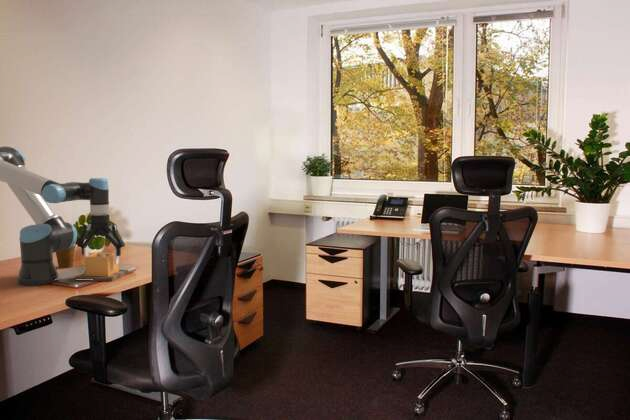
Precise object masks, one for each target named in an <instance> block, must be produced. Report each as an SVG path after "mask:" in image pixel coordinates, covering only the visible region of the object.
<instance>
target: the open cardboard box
mask: <svg viewBox="0 0 630 420" xmlns="http://www.w3.org/2000/svg"><path fill="white" fill-rule="evenodd" d="M101 254H105V255H106V257H98V255H101ZM119 264H120V262H119V263H118V264H115V262H114V252H95V253H93V254H89V256H86V257H85V263H84V269H85V270H84V273H85V274H86V276H109V275H111V274H114V273H116V272H118V271H119V269H120V267H119V266H120V265H119Z"/></svg>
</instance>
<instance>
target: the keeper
mask: <svg viewBox="0 0 630 420" xmlns="http://www.w3.org/2000/svg"><path fill="white" fill-rule="evenodd" d="M98 257H106V255H105V254H101V255H98ZM127 274H129V269H120V268H119V271H118V272H116V273H114V274H111V275H109V276H86V274H85V272H84V273H82V274H78V275H77V276H75V279H93V280H95V281H94V282H113V281H114V282H115V280H117V279H119V278H121V277H124V276H126V275H127ZM75 279H74V280H75Z"/></svg>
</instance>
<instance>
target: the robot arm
mask: <svg viewBox="0 0 630 420" xmlns="http://www.w3.org/2000/svg"><path fill="white" fill-rule="evenodd" d="M25 161H26V158H25V156H24V154H23V152H21V150H19V149H17V147H16V148H15V147H10V146H7V145H6V146H0V182H2V183H5V184H7V186H8V187H9V188H10V190H11V191H12V193H13V194H14V196H15V197H16V198H17V200H18V201H19V202H20V204H21V205H22V207H23V209H25V211H26V212H27V214H28V215H29V216H30V218H31V220H32V221H33V222H34V223H35V224H31V225H26V226H24V227H22V228H21V229H20V231H19V244H20V247H19V248H20V249H19V250H20V260H21V261H20V262H21V263H20V264H21V265H20V269H19V273H18V275H17V285H21V286H40V285H48V284H53V283H55V282H56V281H54V280H55V279H57V278H58V279H59V273H58V271H57V268H56V265H55V263H54V259H53V254H54V253H56V252H58V251H63V250H66V249H68V248H71V247H72V246H73V245H74V244H75V243H76V242H77V240H78V231H77V228H76V227H75V225H73V224H72V223H69V222H67V221H65V220H64V219H63V218H62V216H61V215H58V214H57V215H56V213H55V212H54V211H53V210H52V208H51V207H50V206H49V204H59V203H65V202H74V201H89V205H90V206H89V207H90V208H89V209H90V210H89V212H90V214H91V215H90V224H91V225H89V224H86V225H83V230H82V233H81V235H80V237H79V240H78V242H77V244H76V246H77V247H79V248H81V254H82V256H83V264H85V257H86V256H89V255H90V253H89V252H90V251H89V248H90V247H89V246H88V245H89V244H90V243H91V242H92V240H93V239H94V238H95V236H96V237H105V238H107V239H108V240H109V242H110V243H111V244H112V245H113V246H114V249H113V253H114V262H115V264H118V263H119V264H120V256H121V253H122V251H121V249H122V248H124V247H125V246H126V244H125V242H124V241H123V239H122V236H121V235H120V234H121V233H120V232H119V230H118V226H117V225H115V224H114V225H110V222H111V221H110V220H111V219H110V202H109V192H110V188H109V181H108V179H107V178H105V177H91V178H89V179H88V182H78V181H77V182H76V181H71V182H70V181H68V182H66V183H59V182H57V181H54V180H52V179H50V178H47V177H44V176H42V175H41V174H38V173H35V172H32V171H31V170H28V169H27V167H26V162H25ZM48 203H49V204H48ZM90 231H91V232H90ZM110 231H111V232H110ZM89 232H90V234H89ZM88 234H89V236H88ZM87 236H88V237H87ZM86 237H87V238H86Z"/></svg>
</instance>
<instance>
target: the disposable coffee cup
mask: <svg viewBox="0 0 630 420" xmlns="http://www.w3.org/2000/svg"><path fill="white" fill-rule="evenodd" d="M76 246H77V244H76V242H75V244H74V245H73V246H72V247H71V248H68V249H66V250H63V251H58V252H55V255H56V261H57V262H56V263H57V267H58V268H59V269H71V268H73V267H74V261H75V247H76Z"/></svg>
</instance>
